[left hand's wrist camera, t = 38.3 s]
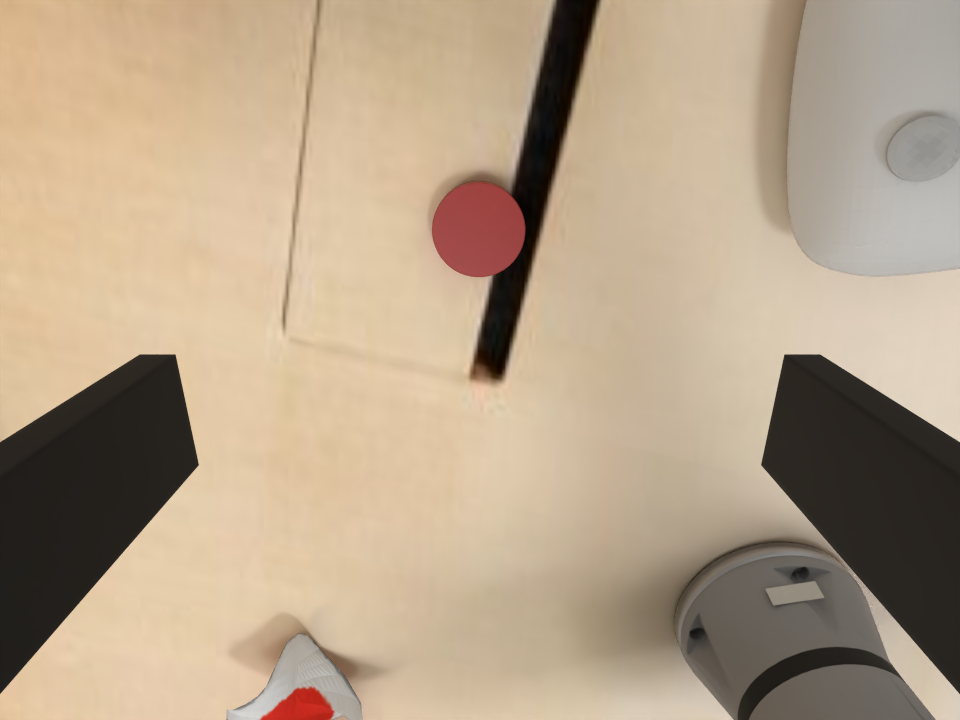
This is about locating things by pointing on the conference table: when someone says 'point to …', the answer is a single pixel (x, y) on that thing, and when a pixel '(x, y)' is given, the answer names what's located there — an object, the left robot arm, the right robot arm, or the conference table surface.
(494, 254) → the lid
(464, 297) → the conference table surface
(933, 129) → the projector
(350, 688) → the fish
